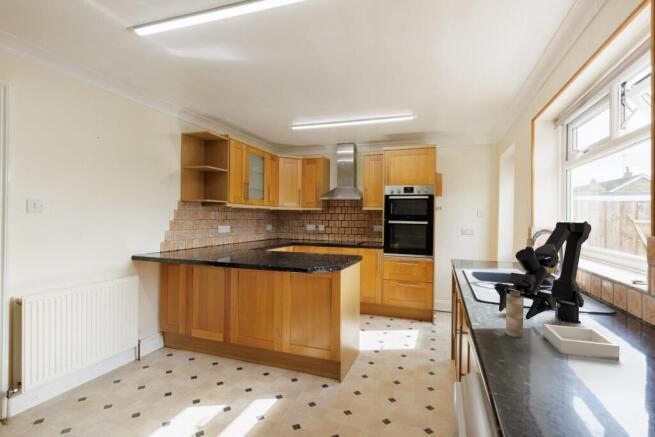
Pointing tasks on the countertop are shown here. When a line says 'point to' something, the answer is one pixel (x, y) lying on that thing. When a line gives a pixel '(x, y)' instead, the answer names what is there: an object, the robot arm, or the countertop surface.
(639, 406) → the countertop surface
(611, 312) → the countertop surface
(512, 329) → the pepper mill
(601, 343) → the bin
